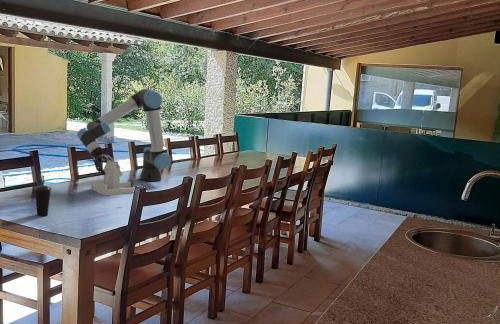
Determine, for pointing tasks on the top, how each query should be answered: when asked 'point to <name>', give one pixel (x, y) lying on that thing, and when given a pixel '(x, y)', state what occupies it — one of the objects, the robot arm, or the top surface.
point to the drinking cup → (42, 199)
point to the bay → (103, 189)
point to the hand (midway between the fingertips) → (115, 177)
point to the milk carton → (112, 174)
